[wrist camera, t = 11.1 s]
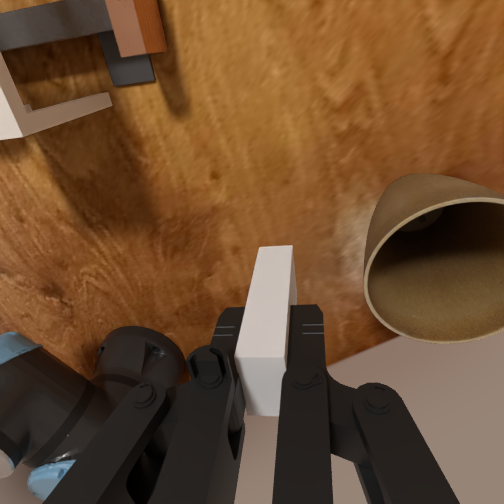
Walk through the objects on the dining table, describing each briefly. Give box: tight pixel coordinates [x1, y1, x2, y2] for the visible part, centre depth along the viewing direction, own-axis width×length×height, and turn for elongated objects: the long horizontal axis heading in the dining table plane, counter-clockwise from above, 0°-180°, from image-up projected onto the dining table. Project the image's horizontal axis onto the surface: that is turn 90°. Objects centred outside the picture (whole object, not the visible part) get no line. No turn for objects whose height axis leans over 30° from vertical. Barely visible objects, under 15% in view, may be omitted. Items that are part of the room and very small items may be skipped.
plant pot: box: [364, 174, 504, 344], centre depth 36 cm, size 15×15×16 cm
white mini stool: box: [0, 31, 156, 140], centre depth 32 cm, size 17×18×16 cm
